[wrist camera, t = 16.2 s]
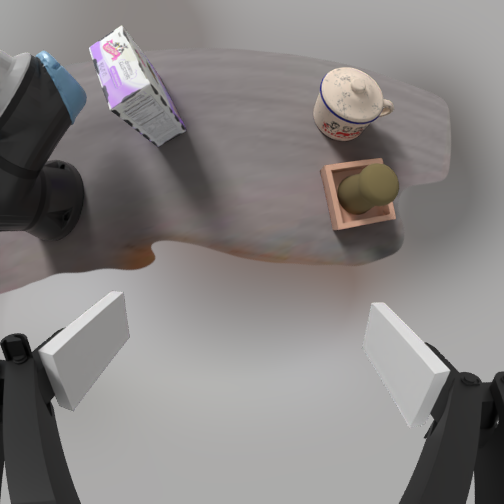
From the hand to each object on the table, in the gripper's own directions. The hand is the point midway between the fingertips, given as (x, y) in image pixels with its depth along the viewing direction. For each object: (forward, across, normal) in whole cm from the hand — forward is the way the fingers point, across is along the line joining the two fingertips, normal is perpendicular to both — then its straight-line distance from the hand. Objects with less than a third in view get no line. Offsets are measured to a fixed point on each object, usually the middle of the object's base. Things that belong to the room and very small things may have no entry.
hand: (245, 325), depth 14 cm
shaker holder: (+29, +15, +7) cm, 34 cm away
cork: (+29, +15, +7) cm, 33 cm away
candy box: (+33, -17, +20) cm, 43 cm away
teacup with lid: (+32, +14, +19) cm, 40 cm away
